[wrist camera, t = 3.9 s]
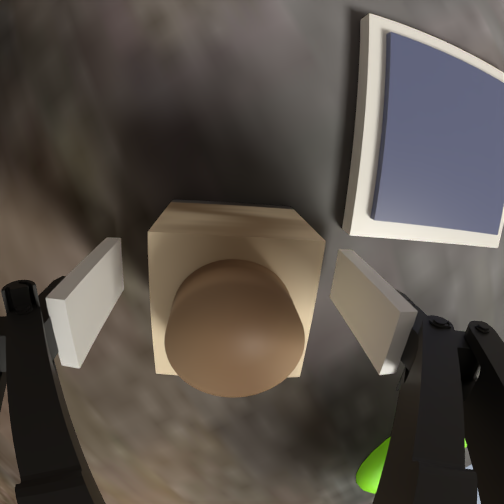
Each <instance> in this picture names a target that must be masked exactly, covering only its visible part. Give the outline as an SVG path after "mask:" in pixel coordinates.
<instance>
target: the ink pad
mask: <svg viewBox="0 0 504 504" xmlns="http://www.w3.org/2000/svg"><path fill="white" fill-rule="evenodd" d="M503 223H504V73H503V72H501V71H500V70H498V69H496V68H495V67H493V66H491V65H490V64H488V63H486V62H484V61H482V60H481V59H479V58H477V57H475V56H473V55H471V54H469V53H467V52H465V51H463V50H461V49H459V48H457V47H455V46H453V45H451V44H449V43H447V42H445V41H442V40H440V39H438V38H436V37H433V36H431V35H429V34H426V33H424V32H421V31H419V30H416V29H414V28H411V27H409V26H406V25H403V24H401V23H398V22H395V21H392V20H389V19H386V18H383V17H380V16H377V15H374V14H370V13H369V14H368V15H366V16H365V17H364V18H362V19H361V20H360V55H359V75H358V91H357V105H356V117H355V129H354V139H353V149H352V158H351V166H350V175H349V183H348V190H347V198H346V205H345V212H344V219H343V225H342V230H344V231H345V232H346V233H348V234H349V235H352V236H366V237H379V238H391V239H404V240H416V241H427V242H439V243H450V244H461V245H471V246H482V247H492V248H498V245H499V241H500V236H501V232H502V228H503Z"/></svg>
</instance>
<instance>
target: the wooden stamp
mask: <svg viewBox="0 0 504 504" xmlns="http://www.w3.org/2000/svg"><path fill="white" fill-rule="evenodd" d="M325 242H326V241H325V240H324V239H323V238H322V237H321V236H320V235H319V234H318V233H317V232H316V231H315V230H314V229H313V228H312V227H311V226H310V225H309V224H308V223H307V222H306V221H305V220H304V219H303V218H302V217H301V216H300V215H299V214H298V213H297V212H296V211H295V210H294V209H293V208H292V207H291V206H279V205H265V204H251V203H235V202H218V201H199V200H176V199H173V200H172V201H171V203H170V204H169V205H168V206H167V208H166V209H165V210H164V211H163V213H162V214H161V215H160V216H159V218H158V219H157V220H156V222H155V223H154V224H153V226H152V227H151V228H150V229H149V231H148V266H149V291H150V309H151V323H152V336H153V348H154V358H155V368H156V374H169V375H179V377H180V378H182V379H183V380H184V381H185V382H186V383H188V384H189V385H191V386H192V387H194V388H196V389H198V390H200V391H202V392H205V393H208V394H211V395H215V396H221V397H245V396H251V395H255V394H258V393H261V392H264V391H266V390H269V389H271V388H273V387H274V386H276V385H278V384H279V383H280V382H282V381H283V380H285V379H286V378H287V377H300V374H301V369H302V365H303V360H304V355H305V351H306V346H307V341H308V336H309V332H310V327H311V322H312V316H313V311H314V306H315V301H316V295H317V290H318V284H319V279H320V273H321V267H322V261H323V255H324V249H325Z"/></svg>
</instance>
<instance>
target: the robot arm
mask: <svg viewBox="0 0 504 504" xmlns="http://www.w3.org/2000/svg"><path fill="white" fill-rule="evenodd" d="M123 290H124V281H123V267H122V249H121V238H112V237H107V238H106V239H104V240H103V241H102V242H101V243H100V244H99V245H98V246H97V247H96V248H95V249H94V250H93V251H92V252H91V253H90V254H88V255H87V256H86V257H85V258H84V259H83V260H82V261H81V262H80V263H79V264H78V265H77V266H76V267H75V268H74V269H73V270H72V271H71V272H70V273H69V274H68V275H67V276H62V277H60V278H58V279H56V280H54V281H53V282H52V283H51V284H50V285H49V286H48V287H47V288H46V289H45V290H43V292H41V294H40V295H39V296H38V294H37V289H36V284H35V283H34V282H33V281H30V280H18V281H14V282H11V283H9V284H7V285H6V286H4V287H3V288H2V290H1V292H2V297H3V301H4V305H5V309H6V313H7V316H5V317H0V410H1V406H2V401H3V396H4V392H5V388H6V384H7V392H8V403H9V413H10V421H11V429H12V436H13V442H14V448H15V453H16V459H17V464H18V468H19V473H20V478H21V484H16V486H15V493H16V499H17V503H18V504H105V502H104V500H103V498H102V495H101V493H100V491H99V489H98V487H97V485H96V483H95V480H94V478H93V476H92V474H91V471H90V469H89V466H88V464H87V462H86V459H85V457H84V454H83V452H82V449H81V446H80V444H79V441H78V438H77V436H76V433H75V430H74V427H73V424H72V421H71V418H70V415H69V412H68V409H67V405H66V402H65V399H64V395H63V392H62V388H61V385H60V381H59V377H58V373H57V369H56V366H55V362H54V358H55V357H56V355H57V353H58V354H59V357H60V361H61V364H62V365H63V366H69V367H75V368H80V367H81V365H82V363H83V361H84V359H85V358H86V356H87V354H88V352H89V350H90V348H91V346H92V344H93V343H94V341H95V339H96V337H97V335H98V333H99V332H100V330H101V328H102V326H103V324H104V323H105V321H106V319H107V317H108V316H109V314H110V312H111V310H112V309H113V307H114V305H115V303H116V302H117V300H118V298H119V296H120V295H121V293H122V291H123ZM330 298H331V300H332V301H333V303H334V305H335V306H336V308H337V309H338V311H339V312H340V314H341V315H342V317H343V318H344V320H345V322H346V323H347V325H348V326H349V328H350V329H351V331H352V332H353V334H354V336H355V337H356V339H357V340H358V342H359V343H360V345H361V347H362V348H363V350H364V351H365V353H366V355H367V356H368V358H369V359H370V361H371V363H372V364H373V366H374V367H375V369H376V371H377V372H378V374H379V375H384V374H392V373H396V371H397V369H398V366H399V364H400V361H402V362H403V364H404V365H405V366H406V367H405V369H404V372H403V374H402V377H401V379H400V381H399V384H398V386H397V388H396V390H397V391H398V390H399V389H400V392H399V397H398V403H397V409H396V414H395V419H394V424H393V429H392V433H391V438H390V442H389V446H388V451H387V455H386V459H385V463H384V466H383V470H382V474H381V477H380V481H379V484H378V488H377V491H376V494H375V498H374V501H373V504H477V487H478V492H479V496H480V501H481V504H504V342H503V341H502V340H501V338H500V337H499V335H498V334H497V333H496V331H495V330H494V329H493V328H492V327H491V326H489V325H488V324H487V323H484V322H482V321H471V322H470V323H469V325H468V327H467V330H466V332H463V331H455V330H454V327H453V325H452V324H451V323H450V322H449V321H448V320H446V319H444V318H441V317H438V316H432V315H431V316H427V315H426V314H425V313H424V312H423V311H422V310H421V309H420V308H419V307H417V306H415V304H414V303H413V302H412V301H411V300H410V299H409V298H408V297H407V296H406V295H405V294H403V293H401V292H399V291H398V290H396V289H394V288H393V287H392V286H391V285H390V284H389V283H388V282H387V281H386V280H385V279H384V278H382V277H381V276H380V275H379V274H378V273H377V272H376V271H375V270H374V269H373V268H372V267H371V266H370V265H368V264H367V263H366V262H365V261H364V260H363V259H362V258H361V257H360V256H359V255H357V254H356V253H355V252H354V251H353V250H349V249H339V250H338V255H337V261H336V267H335V272H334V278H333V283H332V288H331V293H330ZM479 371H480V375H479V377H478V378H477V375H478V373H479ZM465 441H466V444H467V448H468V451H469V455H470V459H471V462H472V466H473V470H471V469H465Z"/></svg>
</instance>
